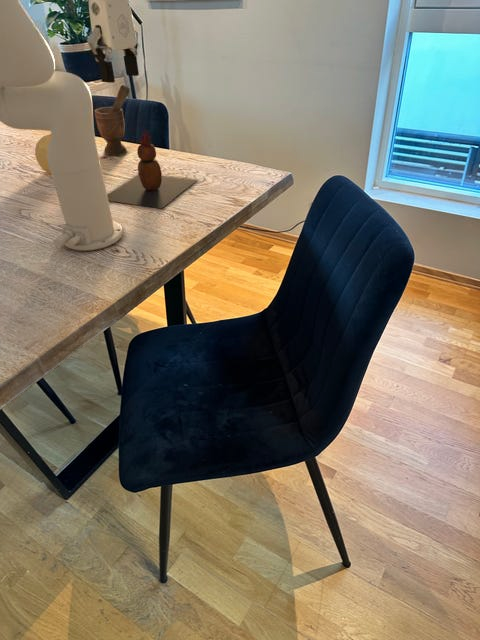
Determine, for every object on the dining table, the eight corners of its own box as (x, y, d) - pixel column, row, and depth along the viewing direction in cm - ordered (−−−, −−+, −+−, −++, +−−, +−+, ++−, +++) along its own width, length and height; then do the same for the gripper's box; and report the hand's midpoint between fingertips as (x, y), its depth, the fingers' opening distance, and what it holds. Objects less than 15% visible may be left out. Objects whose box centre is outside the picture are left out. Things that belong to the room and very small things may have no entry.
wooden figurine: (165, 190, 113) (157, 130, 104) (144, 194, 112) (134, 133, 102) (159, 182, 118) (151, 124, 109) (139, 185, 117) (129, 126, 107)
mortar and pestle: (137, 147, 145) (127, 80, 133) (140, 154, 139) (129, 85, 127) (102, 150, 143) (88, 83, 131) (103, 158, 136) (88, 88, 124)
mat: (161, 209, 104) (161, 208, 104) (99, 200, 110) (99, 199, 110) (196, 181, 119) (196, 180, 119) (140, 174, 124) (140, 173, 124)
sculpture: (57, 181, 121) (45, 141, 114) (33, 172, 127) (21, 134, 120) (90, 169, 128) (81, 131, 122) (66, 162, 134) (56, 125, 127)
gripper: (94, -16, 81) (112, 85, 91) (143, -16, 94) (154, 73, 104) (62, -15, 83) (83, 84, 94) (114, -15, 96) (128, 72, 106)
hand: (121, 78), depth 99 cm, fingers open, 9 cm apart
